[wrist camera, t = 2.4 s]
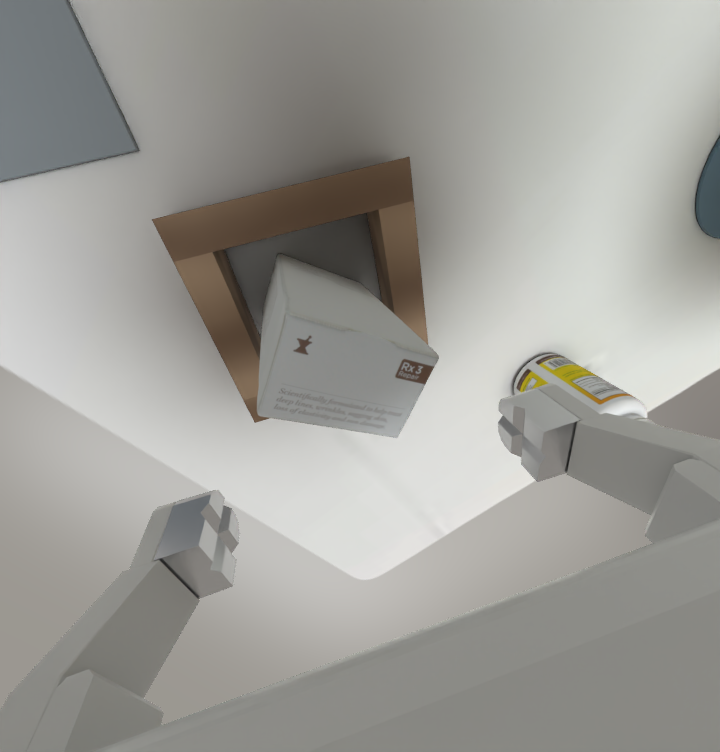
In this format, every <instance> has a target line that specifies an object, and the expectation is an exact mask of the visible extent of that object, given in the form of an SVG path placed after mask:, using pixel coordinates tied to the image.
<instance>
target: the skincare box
mask: <svg viewBox="0 0 720 752" xmlns="http://www.w3.org/2000/svg"><path fill="white" fill-rule="evenodd" d="M262 315H263V317H262V332H261V348H260V363H259V364H260V365H259V388H258V396H257V414H258V415H259V416H261V417H267V418H274V419H281V420H288V421H294V422H300V423H307V424H313V425H320V426H326V427H332V428H339V429H345V430H351V431H357V432H364V433H370V434H376V435H382V436H388V437H393V438H397V437H398V436H399V434H400V432H401V430H402V428H403V426H404V424H405V423H406V421H407V419H408V417H409V415H410V413H411V411H412V409H413V407H414V405H415V403H416V401H417V399H418V397H419V395H420V394H421V392H422V390H423V388H424V386H425V384H426V382H427V380H428V378H429V376H430V374H431V372H432V370H433V368H434V366H435V365H436V363H437V361H438V359H439V356H438V354H437V353H436V352H435V351H434V350H433V349H432V348H431V347H430V346H429V345H427V344H426V343H425V342H424V341H423V340H422V339H421V338H420V337H419V336H418V335H417V334H416V333H415V332H413V331H412V330H411V329H410V328H409V327H408V326H407V325H406V324H405V323H404V322H403V321H402V320H400V319H399V318H398V317H397V316H396V315H395V314H394V313H393V312H392V311H391V310H389V309H388V308H387V307H386V306H385V305H384V304H383V303H382V302H381V301H380V300H378V299H377V298H376V297H375V296H374V295H373V294H372V293H371V292H370V291H369V290H368V289H366V288H365V287H364V286H363V285H362V284H361V283H359V282H356V281H353V280H350V279H348V278H345V277H342V276H340V275H337V274H334V273H331V272H329V271H326V270H323V269H321V268H318V267H315V266H312V265H310V264H307V263H304V262H301V261H299V260H296V259H293V258H291V257H288V256H285V255H282V254H278V255H277V257H276V261H275V265H274V268H273V272H272V276H271V279H270V283H269V287H268V290H267V294H266V298H265V302H264V306H263V311H262Z"/></svg>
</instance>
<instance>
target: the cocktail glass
mask: <svg viewBox="0 0 720 752" xmlns="http://www.w3.org/2000/svg"><path fill="white" fill-rule="evenodd" d="M696 216H697V219H698V223H699V225H700V227H701V228H702V230H703V231H704V232H705V233H706V234H707V235H710V236H712V237H714V238H720V137H719V139H718V141H717V143H716V144H715V146H714V148H713V150H712V152H711V154H710V156H709V158H708V160H707V163H706V165H705V167H704V169H703V172H702V176H701V179H700V182H699V186H698V190H697V195H696Z"/></svg>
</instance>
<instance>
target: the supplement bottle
mask: <svg viewBox="0 0 720 752" xmlns="http://www.w3.org/2000/svg"><path fill="white" fill-rule="evenodd" d="M549 383H552V384H556V385H557V386H559V387H560V388H562V389H563V390H565V391H566V392H568V393H569V394H571V395H572V396H574V397H575V398H577V399H578V400H580V401H581V402H583V403H584V404H586V405H587V406H589V407H590V408H592V409H593V410H595V411H596V412H598V413H599V414H603V413H609V414H613V415H618V416H622V417H626V418H630V419H634V420H638V421H642V422H647V423H651V424H654V422H652V421H651V420H648V419H647V410H646V407H645V406H644V404H643V403H642V402H641V401H640V400H638V399H636V398H635V397H633V396H631V395H630V394H628V393H626V392H624V391H623V390H621V389H619V388H617V387H616V386H614V385H612V384H610V383H609V382H607V381H605V380H603V379H602V378H600V377H598V376H596V375H595V374H593V373H591V372H589V371H588V370H586V369H584V368H582V367H581V366H579V365H577V364H575V363H574V362H572V361H570V360H568V359H567V358H565V357H563V356H561V355H557V354H545V355H542V356H539V357H537V358H535V359H533V360H532V361H530V362H529V363H528V364H526V365H525V366H524V367H523V369H522V370H521V371H520V373H519V374H518V376H517V378H516V380H515V383H514V394H515V395H516V394H519V393H522V392H525V391H528V390H531V389H534V388H537V387H540V386H543V385H546V384H549ZM655 425H656V424H655Z"/></svg>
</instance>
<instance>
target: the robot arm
mask: <svg viewBox="0 0 720 752" xmlns="http://www.w3.org/2000/svg"><path fill="white" fill-rule="evenodd" d="M499 412H500V413H501V414H502V415H503V416H502V418H501V419H500V421H499V422H498V432H499V434H500V437H501V440H502V442H503V444H504V445H505V447H506V448H507V449H508V450H509V451H510V452H511V453H512V454H515V455H517V456H520V457H521V465H522V466H523V467H524V468H525V469H526V470H527V471H528V472H529V473H530V474H531V476H532V477H533V478H534V479H535V480H536V481H537V482H539V481H542V480H545V479H549V478H552V477H555V476H558V475H561V474H565V473H567V475H569V476H571V477H573V478H575V479H577V480H579V481H581V482H583V483H585V484H587V485H590V486H592V487H594V488H596V489H598V490H600V491H602V492H604V493H606V494H608V495H610V496H612V497H614V498H617V499H619V500H621V501H623V502H625V503H627V504H629V505H631V506H633V507H635V508H637V509H639V510H642V511H643V512H645V513H647V514H650V515H651V517H650V520H649V522H648V524H647V526H646V528H645V536H646V537H647V538H648V539H649V540H650V541H651V542H652V543H653V544H650V545H647V546H645V547H642V548H639V549H636V550H634V551H631V552H628V553H626V554H623V555H620V556H618V557H615V558H612V559H609V560H607V561H604V562H601V563H599V564H596V565H593V566H591V567H588V568H586V569H582V570H580V571H577V572H574V573H572V574H569V575H566V576H564V577H561V578H558V579H555V580H553V581H551V582H547V583H545V584H542V585H539V586H536V587H534V588H531V589H528V590H526V591H523V592H520V593H518V594H515V595H512V596H509V597H507V598H504V599H501V600H499V601H496V602H493V603H491V604H488V605H485V606H482V607H480V608H477V609H474V610H472V611H469V612H467V613H464V614H461V615H458V616H455V617H453V618H450V619H447V620H445V621H442V622H439V623H437V624H434V625H431V626H428V627H426V628H423V629H420V630H418V631H415V632H412V633H410V634H407V635H404V636H402V637H399V638H396V639H393V640H391V641H388V642H385V643H382V644H380V645H377V646H374V647H372V648H369V649H366V650H364V651H361V652H358V653H356V654H353V655H350V656H348V657H345V658H342V659H339V660H337V661H334V662H331V663H328V664H326V665H323V666H320V667H318V668H315V669H312V670H310V671H307V672H304V673H302V674H299V675H296V676H293V677H291V678H288V679H286V680H283V681H280V682H277V683H275V684H272V685H269V686H266V687H264V688H261V689H258V690H256V691H253V692H250V693H248V694H245V695H242V696H240V697H237V698H234V699H231V700H229V701H226V702H223V703H221V704H218V705H215V706H213V707H210V708H208V709H205V710H202V711H199V712H197V713H194V714H191V715H188V716H186V717H183V718H180V719H177V720H175V721H172V722H170V723H167V724H164V725H161V722H162V718H163V711H162V710H161V708H160V707H159V706H157V705H155V704H153V703H151V702H149V701H147V700H146V699H144V697H145V695H146V693H147V691H148V690H149V688H150V686H151V685H152V683H153V681H154V679H155V678H156V676H157V674H158V672H159V671H160V669H161V667H162V665H163V664H164V662H165V660H166V658H167V657H168V655H169V653H170V652H171V650H172V648H173V646H174V645H175V643H176V641H177V639H178V637H179V636H180V634H181V632H182V630H183V629H184V627H185V625H186V624H187V622H188V620H189V618H190V617H191V615H192V613H193V612H194V610H195V608H196V606H197V605H198V603H199V599H200V598H202V597H205V596H208V595H211V594H213V593H216V592H219V591H221V590H224V589H227V588H229V587H232V586H233V582H234V574H235V567H236V559H235V557H234V556H233V555H232V552H233V551H234V549H235V548H236V546H237V545H238V543H239V542H238V541H239V524H238V520H237V518H236V515H235V513H234V511H233V510H232V508H229V507H226V506H224V505H223V504H224V499H225V498H224V497H223V495H222V494H221V493H220V491H219V490H213V491H210V492H206V493H203V494H199V495H196V496H193V497H189V498H186V499H182V500H179V501H177V502H174V503H170V504H167V505H163V506H160V507H158V508H157V509H156V510H155V511H154V512H153V513H152V516H151V519H150V521H149V523H148V525H147V528H146V530H145V533H144V535H143V538H142V540H141V542H140V545H139V547H138V549H137V552H136V554H135V557H134V559H133V562H132V564H131V566H130V569H129V570H126V571H124V572H122V573H121V574H120V575H119V577H118V578H116V580H115V581H114V582H113V583H112V584H111V585H110V586H109V587H108V588H107V589H106V590H105V592H104V593H103V594H102V595H101V596H100V597H99V598H98V599H97V600H96V601H95V602H94V603H93V605H91V607H90V608H89V609H88V610H87V611H86V612H85V613H84V614H83V615H82V616H81V617H80V618H79V620H78V621H77V622H76V623H75V624H74V625H73V626H72V627H71V628H70V629H69V630H68V631H67V632H66V634H65V635H64V636H63V637H62V638H61V639H60V640H59V641H58V642H57V643H56V645H54V647H53V648H52V649H51V650H50V651H49V652H48V653H47V654H46V655H45V656H44V657H43V659H42V660H41V661H40V662H39V663H38V664H37V665H36V666H35V667H34V668H33V669H32V670H31V671H30V673H29V674H28V675H27V676H26V677H25V678H24V679H23V680H22V681H21V682H20V683H19V684H18V686H17V687H16V688H15V689H14V690H13V691H12V692H11V693H10V694H9V696H8V697H7V699H6V701H5V703H4V705H3V706H2V708H1V710H0V752H720V440H717V439H713V438H709V437H705V436H700V435H696V434H692V433H688V432H684V431H680V430H676V429H671V428H667V427H663V426H659V425H655V424H651V423H647V422H642V421H638V420H634V419H630V418H626V417H622V416H618V415H613V414H609V413H603V414H599V413H598V412H596V411H595V410H593V409H592V408H590V407H589V406H587V405H586V404H584V403H583V402H581V401H580V400H578V399H577V398H575V397H574V396H572V395H571V394H569V393H568V392H566V391H565V390H563V389H562V388H560V387H559V386H557V385H556V384H552V383H549V384H546V385H543V386H540V387H537V388H534V389H531V390H528V391H525V392H522V393H519V394H516V395H513V396H510V397H506V398H503V399H501V400H500V402H499Z"/></svg>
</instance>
